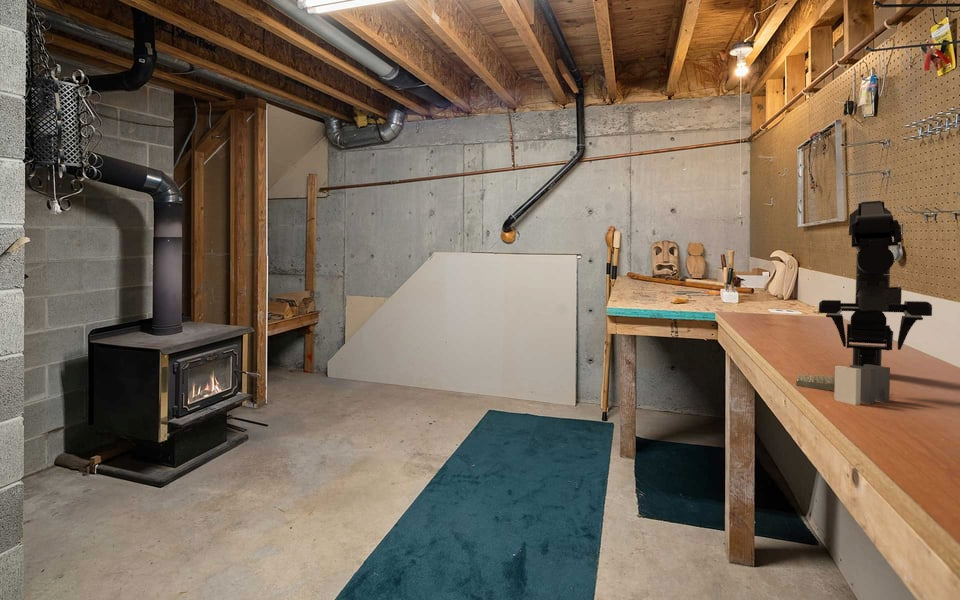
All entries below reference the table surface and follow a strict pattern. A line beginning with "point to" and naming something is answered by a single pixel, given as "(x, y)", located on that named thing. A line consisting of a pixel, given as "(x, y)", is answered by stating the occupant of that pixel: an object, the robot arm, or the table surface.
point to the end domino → (847, 385)
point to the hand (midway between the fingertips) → (871, 348)
